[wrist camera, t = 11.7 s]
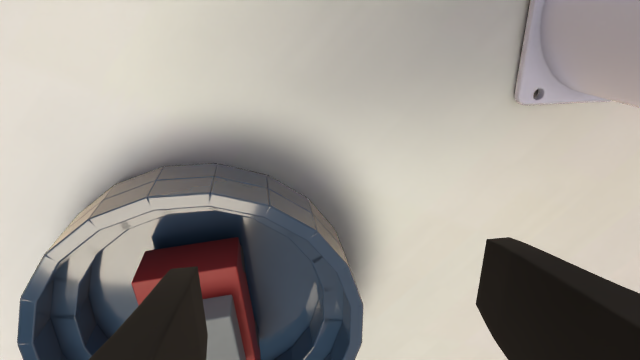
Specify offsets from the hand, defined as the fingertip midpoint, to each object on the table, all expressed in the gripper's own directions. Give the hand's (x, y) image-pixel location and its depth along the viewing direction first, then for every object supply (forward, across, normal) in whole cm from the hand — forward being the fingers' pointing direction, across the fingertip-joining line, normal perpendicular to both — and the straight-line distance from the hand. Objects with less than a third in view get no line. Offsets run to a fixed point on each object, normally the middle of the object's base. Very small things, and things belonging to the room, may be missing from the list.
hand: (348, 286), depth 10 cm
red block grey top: (+9, +5, +7) cm, 13 cm away
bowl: (+10, +5, +7) cm, 13 cm away
